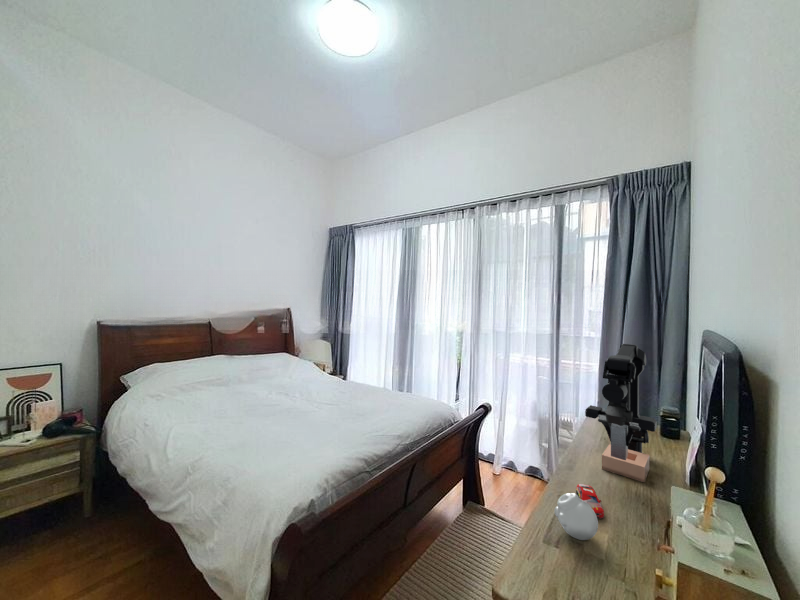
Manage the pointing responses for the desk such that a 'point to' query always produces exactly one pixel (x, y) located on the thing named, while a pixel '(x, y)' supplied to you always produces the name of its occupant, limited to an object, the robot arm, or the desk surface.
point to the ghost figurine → (576, 516)
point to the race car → (590, 499)
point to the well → (627, 464)
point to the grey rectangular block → (619, 441)
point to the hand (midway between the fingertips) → (619, 443)
